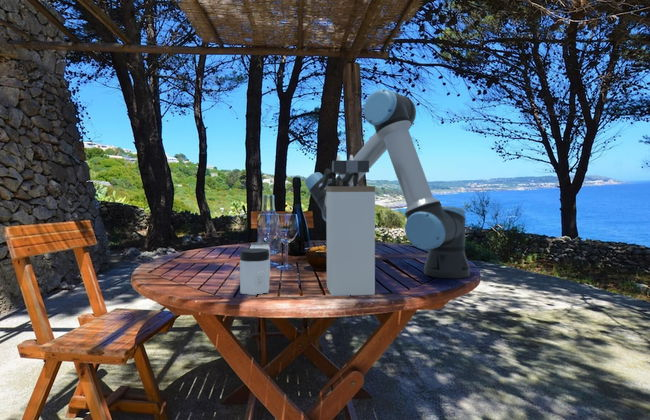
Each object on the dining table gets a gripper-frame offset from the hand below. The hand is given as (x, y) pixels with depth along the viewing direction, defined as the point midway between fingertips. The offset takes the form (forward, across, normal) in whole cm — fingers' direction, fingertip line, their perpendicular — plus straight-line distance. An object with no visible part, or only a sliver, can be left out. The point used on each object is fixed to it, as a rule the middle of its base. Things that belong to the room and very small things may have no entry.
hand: (345, 158), depth 130 cm
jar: (-14, +27, -36) cm, 47 cm away
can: (-28, +26, -28) cm, 48 cm away
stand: (-13, 0, -37) cm, 39 cm away
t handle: (-1, 0, -4) cm, 5 cm away
